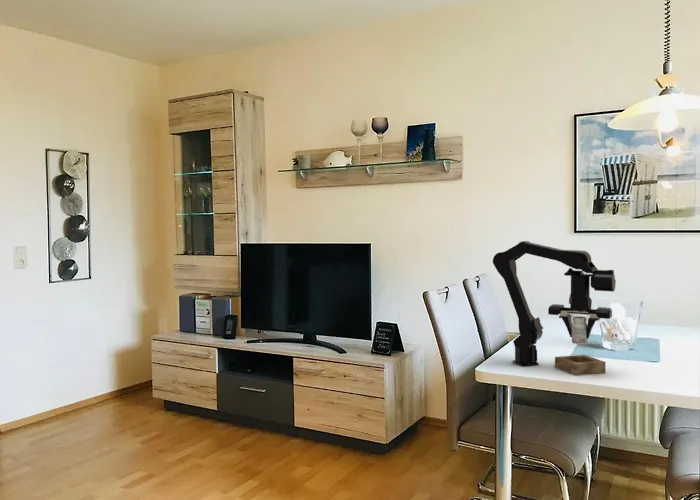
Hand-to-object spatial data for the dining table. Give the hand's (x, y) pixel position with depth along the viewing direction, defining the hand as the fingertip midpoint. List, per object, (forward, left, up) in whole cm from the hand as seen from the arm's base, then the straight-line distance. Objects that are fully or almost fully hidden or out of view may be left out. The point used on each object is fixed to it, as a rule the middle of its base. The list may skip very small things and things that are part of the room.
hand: (579, 337), depth 196 cm
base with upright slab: (+49, +69, -11) cm, 85 cm away
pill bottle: (0, 0, -2) cm, 2 cm away
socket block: (0, 0, -11) cm, 11 cm away
